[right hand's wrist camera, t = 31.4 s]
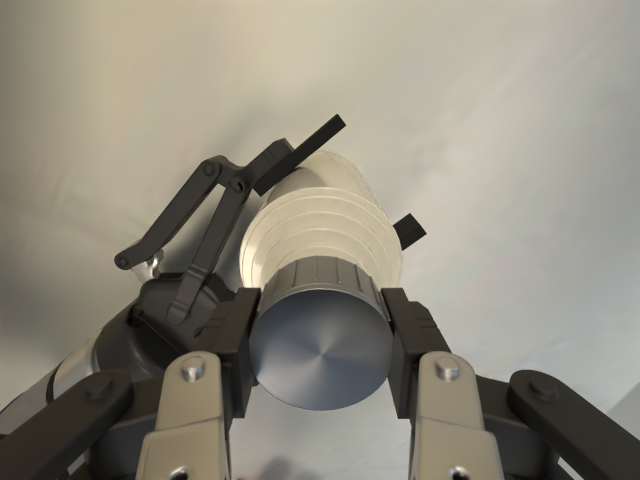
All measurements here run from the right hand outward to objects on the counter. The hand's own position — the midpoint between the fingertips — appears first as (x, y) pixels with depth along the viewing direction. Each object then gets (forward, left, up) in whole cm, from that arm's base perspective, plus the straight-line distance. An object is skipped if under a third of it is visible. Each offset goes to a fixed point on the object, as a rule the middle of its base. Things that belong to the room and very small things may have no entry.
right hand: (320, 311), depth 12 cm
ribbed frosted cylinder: (0, 0, -17) cm, 17 cm away
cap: (0, 0, +2) cm, 2 cm away
